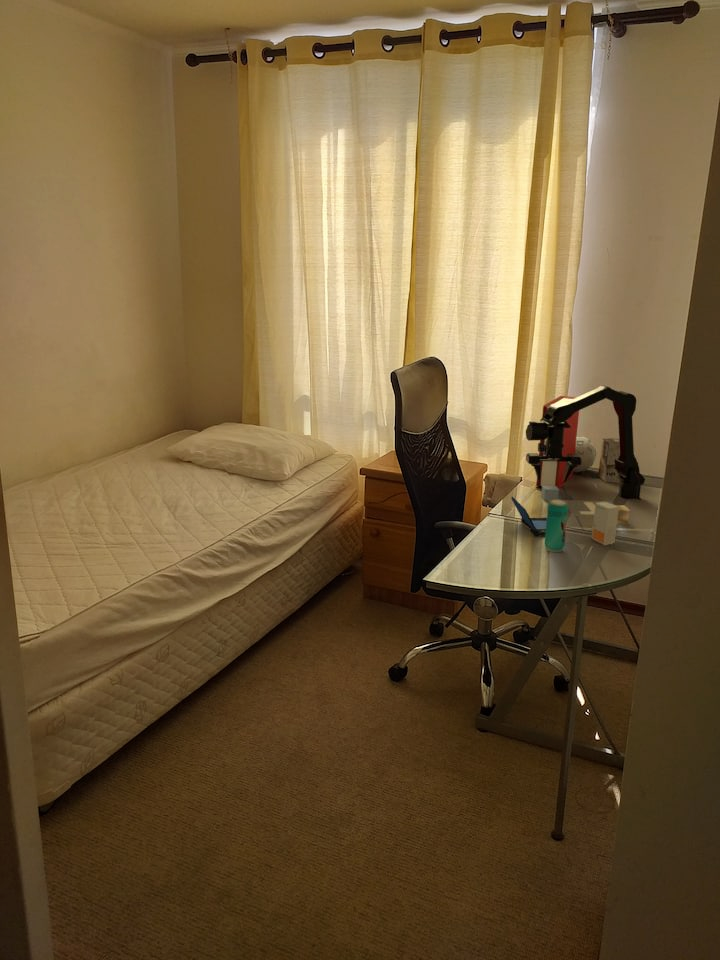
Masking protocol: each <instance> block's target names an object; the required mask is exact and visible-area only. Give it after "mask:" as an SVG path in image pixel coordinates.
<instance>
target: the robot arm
mask: <svg viewBox="0 0 720 960" xmlns="http://www.w3.org/2000/svg"><path fill="white" fill-rule="evenodd" d="M576 397H577V398H575V399H572V400H570V401H564V402H559V403H555V404H552V405H550V406H549V407H548V410H547V412H546V414H545V415H544V416H543V417H542V416H541V418H540V420H539V421H534V420H529V422H528V425H527V426H526V429H525V437H526V440H527V442H528V441H530V442H531V441H540V440H545V439H547V441H546V445H544V443H540V442H538V443H537V452H538V453H537V452H528V453H526V454H525V461H526V462H527V464H528V465H530V466H532V467H533V469H534V472H535V475H536V481H537V480H538V482H540V467H541V465H540V464H539V463H540V461H557V462H565V472H564V479H563V482H564V484H566V483H567V481H568V480H567V478H568V476H569V475H570V473H571V472H572V470H573V469H574V468H575V467H577V465H581V462H582V459H581V457H580V456H579V455H577V454H567V456H562V451H563V447H564V444H563V441H564V430H565V428H570V427H571V426H570V425H569V424H568V423H567V421H566V420H567V419H569V418H570V417H572V416H573V414H574V413H575V412H577V411H579V412H580V411H581V410H583V409H585V408H587V407H589V406H591V405H594V404H596V403H599V402H601V401H603V400H605V399H607V400H609V401H610V402H612V406H613V408H614V412H615V414H616V415H617V418H618V419H617V423H618V437H619V438H618V439H619V442H620V456H619V458H618V459H615V460H614V461H615V470H616V471H617V473H618V474H619V476H620V480H621V481H620V482H621V483H620V484H619V489H618V495H619V496H620V497H621V498H623V499H628V500H638V501H641V500H642V498H641V497H640V496H641V495H640V494H641V487H642V485H644V484H645V481H646V478H645V477H644V476H643V475H642V474H641V473H640V465H639V462H638V460H637V458H636V457H635V452H634V451H635V448H634V432H633V431H634V429H633V427H634V426H633V416H634V414H635V412H636V410H637V408H636V407H637V398H636V397H637V396H635V395H634V394H632V393H629V392H626V391H622V390H619V391H618V390H615V389H613V388H611V387H610V386H607V385H599V386H598V387H597V388H594V389H593V390H590V391H588V392H586V393H583V394H581V395H579V396H576ZM550 419H552V420H550ZM539 452H543V455H546V456H539ZM548 458H550V459H548ZM566 480H567V481H566Z"/></svg>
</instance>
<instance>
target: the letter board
mask: <svg viewBox="0 0 720 960" xmlns="http://www.w3.org/2000/svg"><path fill="white" fill-rule="evenodd" d="M563 500H564V501H566V502H567V506H568V511H570V512H571V514H572V515H573V516H574V517H594V513H595V504H596V503H599V502H607V503H610V504H613V505H616V504H614V502H613V501H611V500H579V499H578V500H576V499H575V500H574V499H572V500H571V499H563Z"/></svg>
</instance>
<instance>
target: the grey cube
mask: <svg viewBox="0 0 720 960" xmlns="http://www.w3.org/2000/svg"><path fill="white" fill-rule="evenodd" d="M559 494H560V488H559V489H558V488H557V486H542V487H541V499H542V500H543V501H544V502H549V501H550V500H553V499H559Z"/></svg>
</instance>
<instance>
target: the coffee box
mask: <svg viewBox="0 0 720 960" xmlns="http://www.w3.org/2000/svg"><path fill="white" fill-rule="evenodd" d="M619 456H620V442H619V438H613V437H612V438H609V437H608V438H602V440H601V446H600V456H599V457H600V458H599V466H598V468H599V469H598V478H600V480H602V481H603V482H604V483H620V482H621V479H620V476H619V474H618V473H617V471H616V470H615V461H614V460H615V459H618V458H619Z"/></svg>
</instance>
